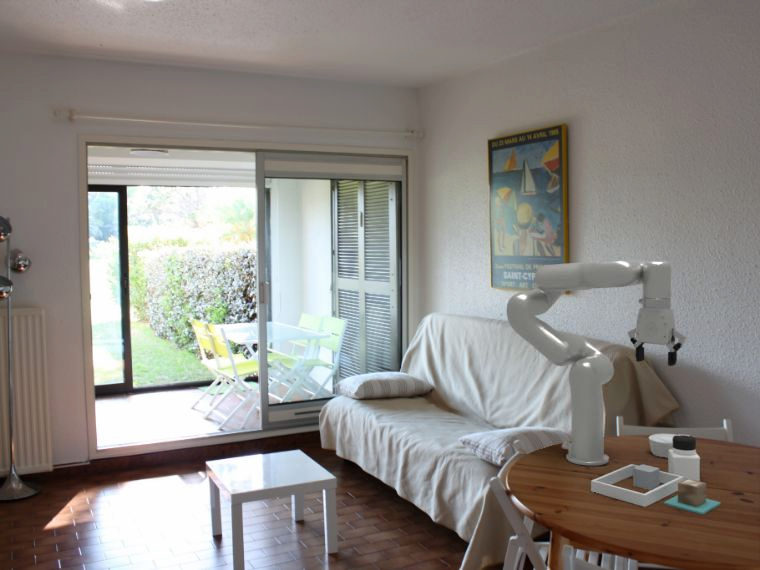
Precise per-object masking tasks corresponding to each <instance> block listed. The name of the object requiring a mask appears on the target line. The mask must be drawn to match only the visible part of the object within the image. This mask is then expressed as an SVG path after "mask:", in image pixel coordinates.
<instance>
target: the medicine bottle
mask: <svg viewBox="0 0 760 570" xmlns="http://www.w3.org/2000/svg"><path fill="white" fill-rule="evenodd" d="M675 435H676V436H674V437H673V450H671V449H669V451H668V458H667V460H668V463H667V464H668V465H667V467H668V468H667V469H668V470H667V473H670V474H675V475H679V476H683V477H684V480H685V479H691V480H696V481H700V482H701V457H700V455H699V454H698V453H697V450H696V449H697V447H696V445H697V444H696V443H697V440H696V438H695V437H693V436H692V435H688V434H675Z"/></svg>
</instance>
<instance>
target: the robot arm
mask: <svg viewBox="0 0 760 570" xmlns="http://www.w3.org/2000/svg"><path fill="white" fill-rule="evenodd" d="M534 283H535V287H534V288H533V289H531V290H525V291H520V292H517V293H514V294H513V295H512V296H511V297H510V298H509V299H508V302H507V305H506V317H507V320H508V323H509V325H510V326H511V328H512V329H513V331H514V332H515V333H517V335H518V336H520V337H521V338H522V339H523V340H525V342H527V343H528V344H530V345H531V346H532V347H533V348H534V349H536V351H538V353H540V354H541V355H542V356H543V357H545V358H546V359H547V360H548V361H549V362H551V363H552V364H553V365H554V366H557V367H566V366H569V365H571V367H570V369H569V372H568V383H569V388H570V400H571V403H570V404H571V405H570V406H571V407H570V409H571V442H570V441H566V440H564V441H563V442H562V445H561V448H562V449H564V450H567V451H568V452H567V454H566V460H567V461H568V462H569V463H572V464H574V465H575V464H576V465H581V466H587V467H588V466H589V467H592V466H593V467H594V466H596V467H597V466H603V465H606V464H608V463H609V462H610V457H609V455H608V454H605V453H604V449H605V448H604V447H605V446H604V445H605V443H604V436H605V435H604V430H605V429H604V424H605V422H604V420H605V419H604V413H605V412H604V405H605V404H604V397H603V391H602V385H605V384H607V383H608V382H610V380H612V378H613V376H614V372H615V370H614V369H615V368H614V364H613V362H612V361H611V360H610V358H608V356H606V354H604V353H603V352H602V351H600V350H599V349H598V348H597V347H596V346H594V345H593V344H591V343H590V342H589V341H588V340H587V339H585V338H584V337H582V336H581V335H578V334H576V333H565V334H562V333H560V332H559V331H558V330H556V329H554V328H553V327H552V326H551V325H549V324H548V323H547V322H545V321H543V320H541V318H539V317H537V316H541V315H543V314H546V313H547V312H549V310H550V309H551V308H552V306H554V304H555V303H556V302H557V301H559V299H560V298H561V297H562V296H563V295H564V294H565V292H569V291H589V290H591V289H607V288H625V287H629V286H630V287H631V286H637V285H642V298H639V299H638V303H639V304H640V305H641V306H642V307H639V310H638V314H637V319H636V326H635V328H633V329H631V330H629V331H627V336H628V338H629V339H630V342H631V343H632V345H633V347H634V348H635V359H636V362H644V360H645V347H644V345H645V344H650V345H659V346H660V345H662V346H666V348H668V350H669V351H668V352H667V366H669V367H672V366H676V363H677V362H678V360H677V357H678V355H677V354H678V351H679V350H680V349H681V348H682V347H683V346H684V344H685V342H686V340H687V337H686V336H685V335H684V334H682V333H680V331H679V332H678V331H677V330H676V321H675V315H674V309H672V308H671V307H672V306H671V304H672V303H671V299H672V295H671V294H672V292H671V291H672V265H671V263H670V262H669V261H667V260H647V261H646V260H641V259H640V260H639V259H625V260H616V261H615V260H614V261H604V262H603V261H602V262H586V261H580V262H570V263H569V262H567V263H558V264H547V265H543V266H541V267H539V268H538V269H537V270H536V271H535V274H534ZM676 339H678V341H677V342H676ZM675 342H676V343H675Z"/></svg>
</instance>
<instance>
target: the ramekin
mask: <svg viewBox="0 0 760 570" xmlns="http://www.w3.org/2000/svg"><path fill="white" fill-rule="evenodd" d="M676 435H677V434H674V433H655V434H652V435H649V436H648V441H649V445H650V450H651V451H650V452H651V453H652V454H653V456H655V457H658V456H659V458H662V457H665V458H664V459H668V451H669V449H671V450H673V437H674V436H676Z"/></svg>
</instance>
